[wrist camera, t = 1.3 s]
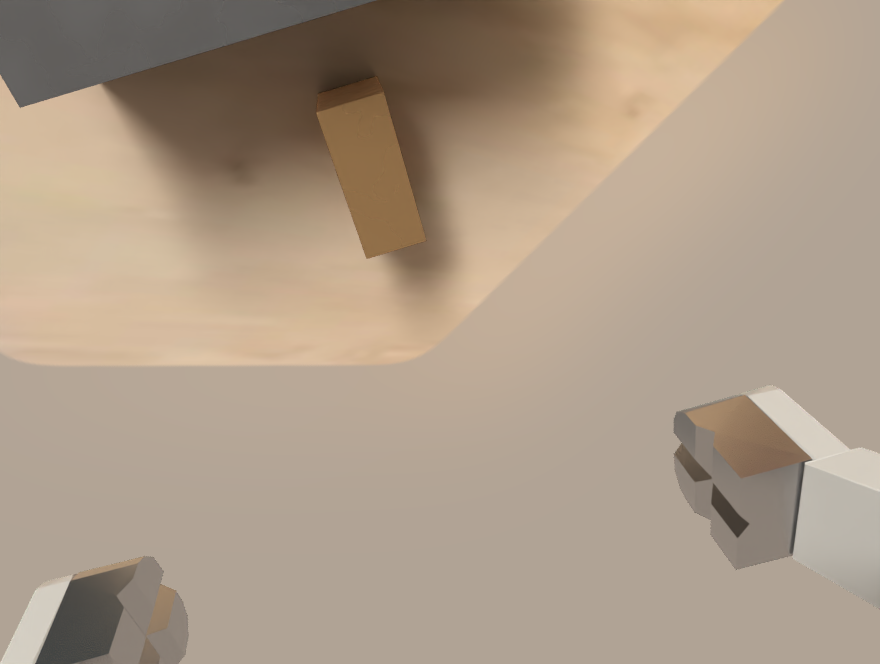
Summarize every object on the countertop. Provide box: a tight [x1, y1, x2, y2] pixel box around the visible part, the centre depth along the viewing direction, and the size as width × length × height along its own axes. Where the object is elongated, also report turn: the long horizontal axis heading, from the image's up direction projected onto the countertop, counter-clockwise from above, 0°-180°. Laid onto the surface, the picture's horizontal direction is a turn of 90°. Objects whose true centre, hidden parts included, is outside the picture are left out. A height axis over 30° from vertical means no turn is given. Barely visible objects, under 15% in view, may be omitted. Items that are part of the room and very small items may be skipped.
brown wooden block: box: [316, 76, 426, 259], centre depth 30 cm, size 3×7×5 cm, turn 15°
